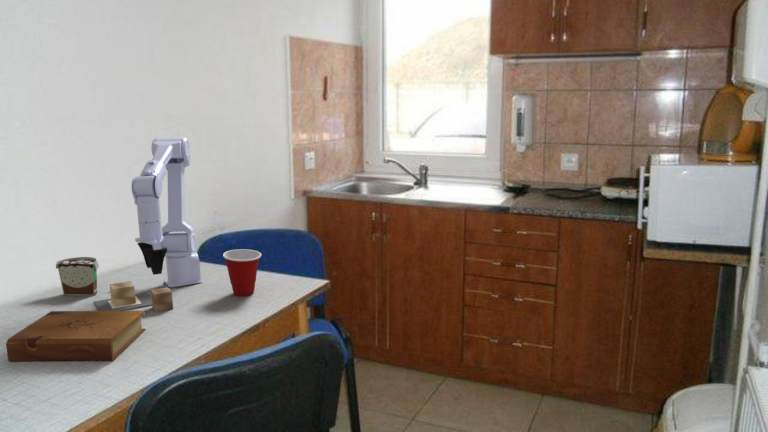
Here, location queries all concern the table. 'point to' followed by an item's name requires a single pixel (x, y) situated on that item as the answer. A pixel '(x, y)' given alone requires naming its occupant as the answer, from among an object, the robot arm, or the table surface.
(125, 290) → the oak block
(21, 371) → the table surface
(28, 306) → the table surface
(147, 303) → the gray rectangular panel
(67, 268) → the food container
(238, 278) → the plastic cup
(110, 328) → the diary
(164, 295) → the walnut block
